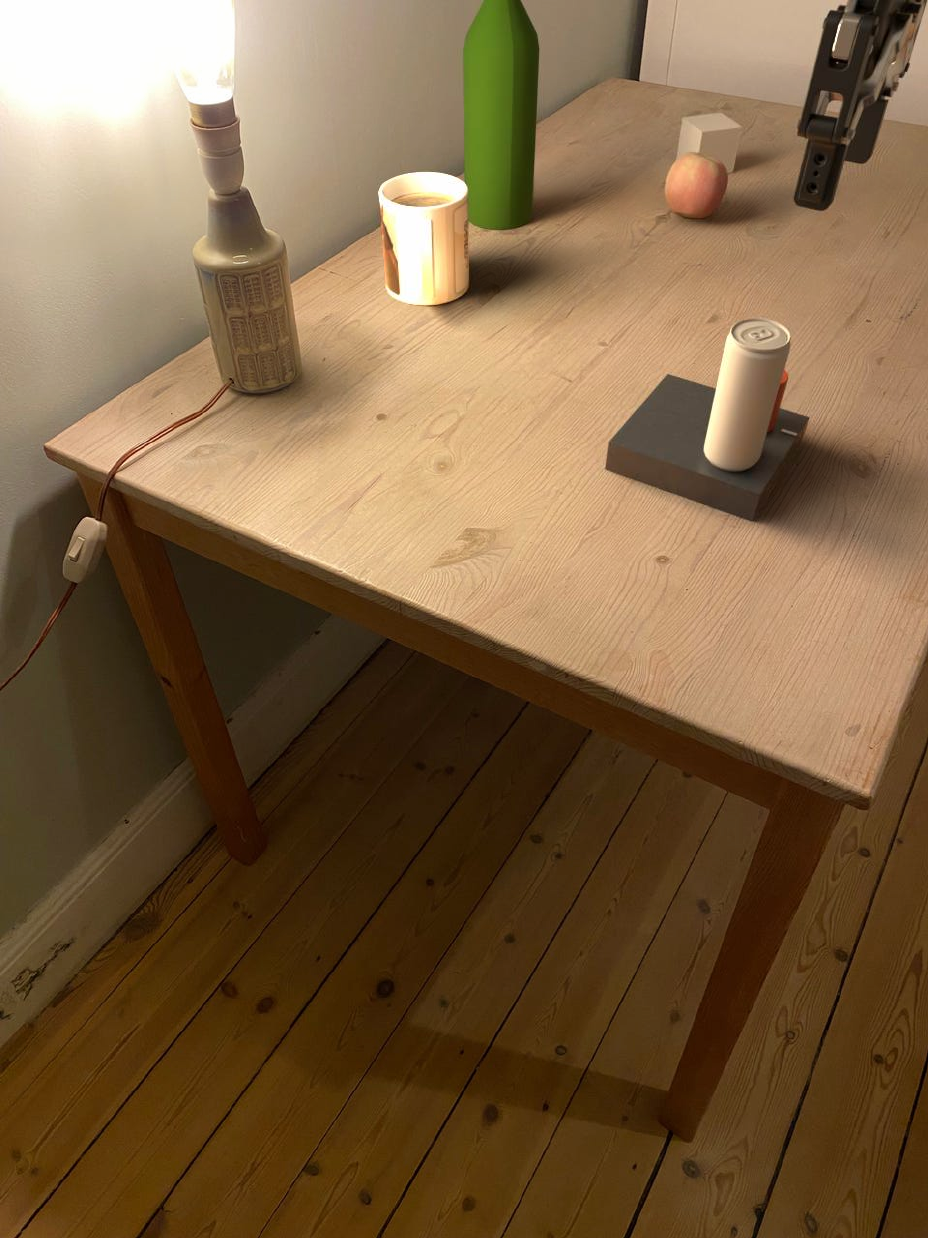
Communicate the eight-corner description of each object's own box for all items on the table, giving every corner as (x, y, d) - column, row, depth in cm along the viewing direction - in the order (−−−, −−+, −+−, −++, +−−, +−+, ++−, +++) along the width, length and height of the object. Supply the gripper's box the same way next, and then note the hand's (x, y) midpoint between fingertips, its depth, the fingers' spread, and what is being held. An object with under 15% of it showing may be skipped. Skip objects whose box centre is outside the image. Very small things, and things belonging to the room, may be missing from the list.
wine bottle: (546, 214, 120) (563, -96, 97) (501, 236, 116) (507, -82, 92) (496, 195, 125) (500, -106, 101) (450, 216, 120) (444, -93, 96)
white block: (694, 177, 128) (702, 131, 124) (675, 162, 132) (682, 116, 128) (733, 172, 129) (741, 126, 125) (713, 156, 133) (721, 111, 129)
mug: (490, 281, 108) (491, 184, 100) (431, 324, 101) (427, 225, 93) (418, 258, 112) (413, 164, 104) (357, 299, 105) (347, 201, 97)
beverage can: (691, 449, 80) (716, 326, 71) (737, 433, 81) (766, 310, 72) (724, 481, 77) (754, 356, 68) (770, 464, 78) (806, 340, 69)
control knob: (730, 411, 84) (742, 360, 80) (768, 410, 84) (782, 358, 80) (739, 434, 81) (752, 382, 78) (779, 433, 81) (794, 381, 78)
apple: (725, 231, 116) (738, 166, 110) (664, 231, 116) (674, 166, 111) (714, 205, 122) (726, 141, 116) (657, 205, 122) (666, 142, 116)
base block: (802, 441, 86) (811, 413, 83) (752, 521, 78) (760, 492, 76) (664, 398, 91) (669, 370, 89) (604, 468, 83) (608, 440, 81)
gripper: (973, -124, 40) (860, 239, 52) (1030, -166, 48) (921, 156, 60) (805, -137, 43) (734, 210, 55) (886, -174, 51) (809, 135, 63)
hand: (832, 182), depth 58 cm, fingers open, 8 cm apart
